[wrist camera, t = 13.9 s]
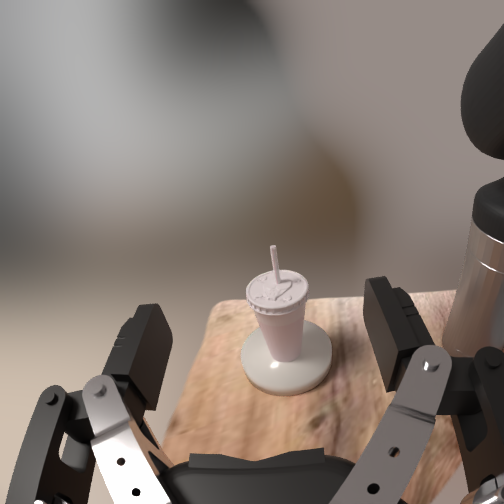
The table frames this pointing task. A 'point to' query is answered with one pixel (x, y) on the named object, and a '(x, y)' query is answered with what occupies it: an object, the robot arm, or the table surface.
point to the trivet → (287, 363)
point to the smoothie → (279, 309)
